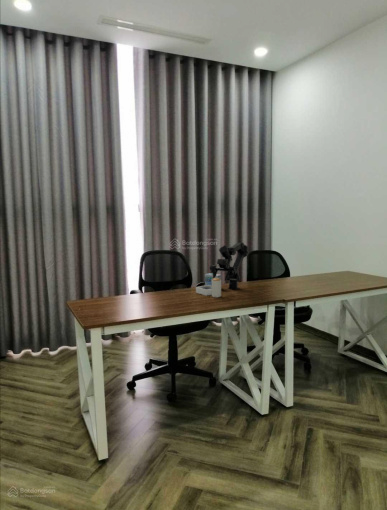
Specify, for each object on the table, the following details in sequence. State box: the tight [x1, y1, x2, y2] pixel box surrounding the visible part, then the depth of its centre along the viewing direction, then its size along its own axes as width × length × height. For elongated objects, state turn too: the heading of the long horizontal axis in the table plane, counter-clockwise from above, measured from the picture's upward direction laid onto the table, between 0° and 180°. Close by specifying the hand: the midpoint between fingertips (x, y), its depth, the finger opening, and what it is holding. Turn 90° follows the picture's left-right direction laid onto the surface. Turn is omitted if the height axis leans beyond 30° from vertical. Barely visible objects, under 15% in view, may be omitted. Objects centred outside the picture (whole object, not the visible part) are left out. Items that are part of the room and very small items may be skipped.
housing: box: [195, 285, 212, 297], centre depth 258 cm, size 12×12×4 cm
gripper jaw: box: [211, 278, 222, 298], centre depth 247 cm, size 5×5×12 cm
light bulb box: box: [204, 272, 222, 286], centre depth 273 cm, size 11×7×11 cm, turn 62°
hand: (219, 279), depth 250 cm, fingers open, 9 cm apart
